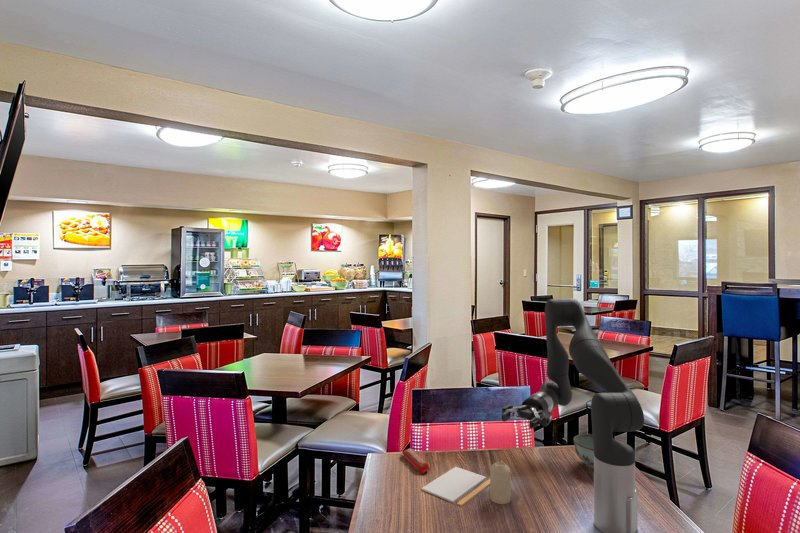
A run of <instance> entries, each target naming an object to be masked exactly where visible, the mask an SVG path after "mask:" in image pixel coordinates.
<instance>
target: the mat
mask: <svg viewBox="0 0 800 533" xmlns="http://www.w3.org/2000/svg"><path fill="white" fill-rule="evenodd" d="M486 480H487V477H486V476H484V475H481V474H478V473H476V472H473V471H470V470H467V469H464V468H461V467H458V466H454V467H453V468H451V469H449V470H448V471H446V472H444V473H443V474H442V475H440V476H438V477H437V478H436V479H434V480H432V481H430V482H429V483H427V484H426V485H424V486H423V487H421V491H423V492H426V493H429V494H431V495H433V496H435V497H438V498H440V499H442V500H446V501H447V502H450V503H452V504H453V503H455V502H456V501H458V500H459V499H461V498H462V497H463V496H465V495H466V494H468V493H469V492H470V491H471V490H473V489H474V488H476V486H477V487H478V485H479V484H480V485H481V483H483V481H484V482H485V481H486Z"/></svg>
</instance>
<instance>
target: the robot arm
mask: <svg viewBox="0 0 800 533" xmlns="http://www.w3.org/2000/svg"><path fill="white" fill-rule="evenodd" d="M544 324H545V326H544V327H545V337H546V349H547V361H546V364H547V365H546V376H547V378H548V379H549V380H545V381H543V382H542V384H541V386H540V388H539V391H537V392H536V393H535V392H534V393H533V394H531V395H530V396H528V397H526V398H525V399H524V400H523V402H522V403H521V404H520V405H518V406H514V403H512V402H511V403H508V404H507V405H505V406H503V407H501V420H502V422H504V423H505V422H508V421H509V420H510V419H514V420H519V419H522V420H528V421H529V424H528V425H529V426H528V427H529V429H531V430H533V429H534V428H537V427H539V426H540V425H542V427H547V426H549V424H550V423H551V422H552V418H553V416H552V411H553V410H554V409H555V408H556V407H557V406H558V405H559V406H563V407H565V406H567V405H569V404H571V403H570V402H572V396H573V391H572V386H571V384H570V378H569V367H570V366H569V365H570V358H571V360H572V361H573V364H574V367H575V368H576V369H577V371H578V372H579V373H580V374H581V375H582V376H584V377H585V378H587V379H588V380H589V381H591V382H592V383H594V384H595V385H597V386H598V387H599V388H601V389H602V390H603V391H605V392H596V393H595V394H594V395H593V396H592V398H591V402H590V416H591V417H590V418H591V432H592V433H591V434H592V438H593V446H594V470H593V523H594V526H595V527H596V528H597V530H598V531H600V532H602V533H636V532H637V531H638V528H639V527H638V524H639V522H638V519H639V518H638V516H639V515H638V514H639V513H638V511H639V510H638V490H637V489H636V452H635V450H634V448H633V447H632V446H631V445H629V444H627V443H626V442H623V441H621V440H617V439H614V438H613V433H616V432H617V433H618V432H619V433H620V432H621V433H623V432H625V433H626V432H638V431H640V430H641V429H642V428H643V427H644V426H645V416H644V414H645V413H644V411H643V408H642V405H641V402H639V400H638V398H637V396H636V394H635V393H634V392H633V390H632V389H631V388H630V387H629V385H628V384H627V383H626V381H625V380H624V379H623V378H622V377H621V375H620V373H619V372H618V370H617V369H616V367H615V365H614V364H613V362H612V361H611V360H610V357H609V355H608V353H607V352H606V350H605V348H604V346H603V344H602V343H601V341H600V340H599V339H598V337H597V335H596V334H595V332H594V330H593V328H592V327H591V325H590V322H589V320H588V317H587V315H586V313H585V311H584V309H583V307H582V304H581V303H580V301H579V300H578V299H576V298H572V297H568V298H567V297H566V298H565V297H564V298H562V297H561V298H550V299H548V300H547V301H546V303H545V306H544ZM557 327H559V328H561V327H573V328H574V329H575V331H574V333H573V335H572V338H571V340H570V342H569V345H568V351H567V350H566V348H565V347H564V345H563V343H562V341H561V340H560V339H559V336H558V333H557ZM568 353H569V354H568ZM569 356H570V358H569Z"/></svg>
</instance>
